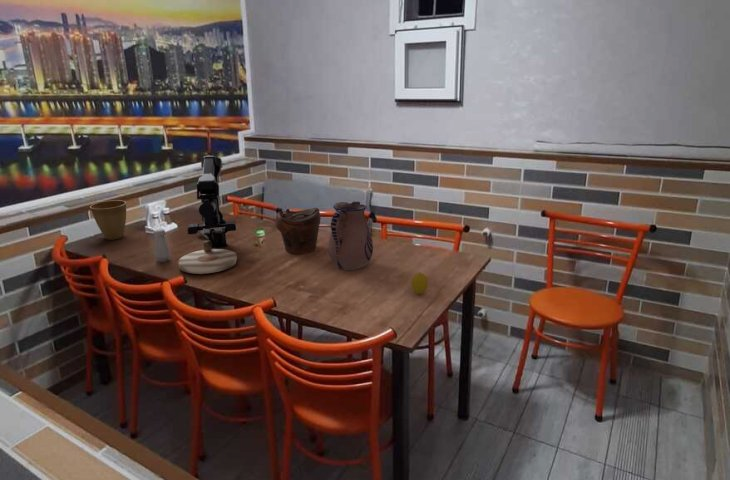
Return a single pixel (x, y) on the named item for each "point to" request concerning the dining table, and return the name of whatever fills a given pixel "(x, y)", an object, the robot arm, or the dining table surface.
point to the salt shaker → (161, 246)
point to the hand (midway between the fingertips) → (215, 247)
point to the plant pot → (110, 218)
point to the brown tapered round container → (299, 229)
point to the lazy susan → (207, 260)
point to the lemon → (419, 283)
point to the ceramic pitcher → (350, 236)
